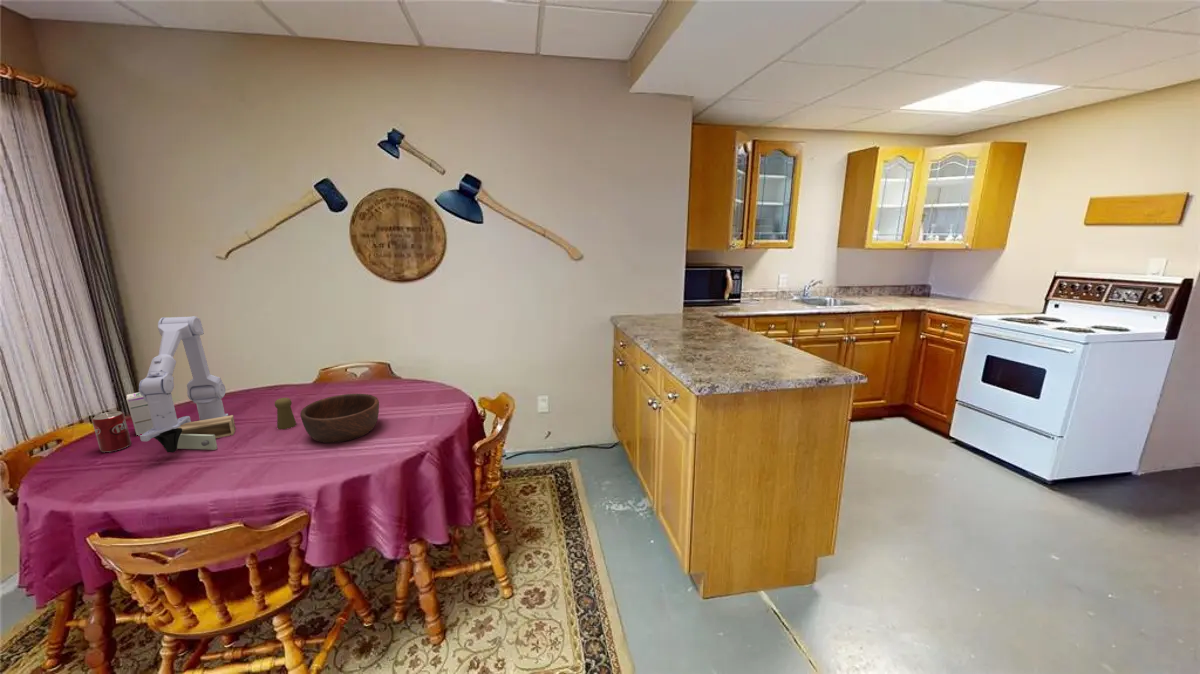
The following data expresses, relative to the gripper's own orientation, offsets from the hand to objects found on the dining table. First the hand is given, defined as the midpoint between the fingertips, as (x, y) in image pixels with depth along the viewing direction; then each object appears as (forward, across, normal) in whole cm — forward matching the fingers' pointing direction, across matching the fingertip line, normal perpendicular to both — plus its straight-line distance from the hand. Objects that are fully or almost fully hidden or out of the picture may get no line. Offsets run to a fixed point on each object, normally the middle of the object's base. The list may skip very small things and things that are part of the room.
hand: (172, 451), depth 146 cm
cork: (+2, +25, -20) cm, 32 cm away
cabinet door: (+2, +5, -1) cm, 5 cm away
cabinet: (+2, +14, +3) cm, 14 cm away
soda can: (+2, +4, +24) cm, 25 cm away
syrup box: (+2, +17, +27) cm, 32 cm away
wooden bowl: (+2, +22, -44) cm, 49 cm away
